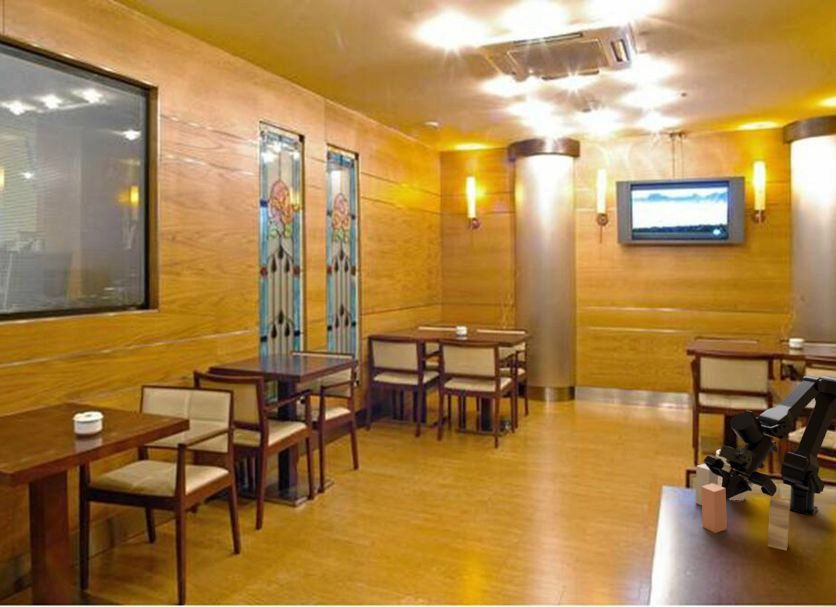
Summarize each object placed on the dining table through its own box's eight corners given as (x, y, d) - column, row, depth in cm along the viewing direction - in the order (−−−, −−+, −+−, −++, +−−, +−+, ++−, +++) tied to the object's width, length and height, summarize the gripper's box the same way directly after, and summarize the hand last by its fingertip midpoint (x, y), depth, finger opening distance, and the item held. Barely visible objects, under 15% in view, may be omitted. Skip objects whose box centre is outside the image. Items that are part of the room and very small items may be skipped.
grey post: (704, 500, 182) (705, 463, 181) (716, 505, 178) (718, 467, 177) (695, 503, 180) (696, 465, 179) (708, 508, 176) (709, 469, 175)
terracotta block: (714, 523, 166) (712, 483, 164) (726, 529, 162) (725, 488, 161) (702, 526, 164) (701, 486, 163) (715, 533, 160) (714, 491, 159)
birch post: (769, 540, 156) (771, 497, 156) (787, 544, 154) (789, 500, 153) (767, 546, 153) (769, 502, 152) (786, 550, 151) (788, 506, 150)
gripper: (709, 425, 172) (677, 469, 169) (771, 444, 155) (736, 494, 152) (729, 450, 176) (698, 494, 172) (791, 471, 159) (758, 520, 155)
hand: (720, 499), depth 163 cm, fingers closed
